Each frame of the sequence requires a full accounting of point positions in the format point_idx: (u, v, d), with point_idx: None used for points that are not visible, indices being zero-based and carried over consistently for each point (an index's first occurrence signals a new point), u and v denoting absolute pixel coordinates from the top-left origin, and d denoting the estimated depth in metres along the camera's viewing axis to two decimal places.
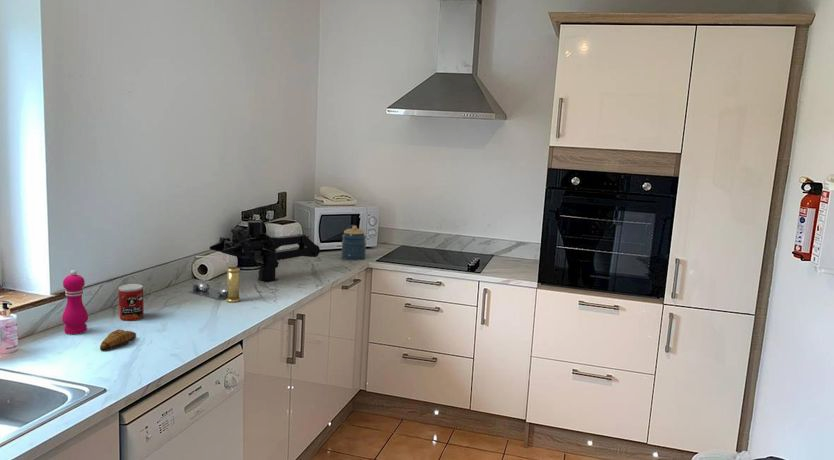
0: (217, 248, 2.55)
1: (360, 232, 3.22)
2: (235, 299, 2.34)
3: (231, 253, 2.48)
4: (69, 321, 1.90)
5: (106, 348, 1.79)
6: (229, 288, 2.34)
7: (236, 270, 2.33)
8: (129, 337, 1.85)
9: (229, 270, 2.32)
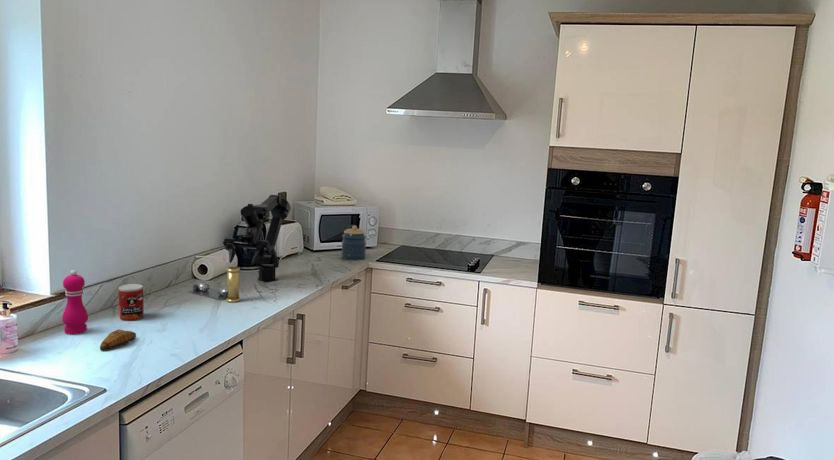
0: (233, 255, 2.45)
1: (360, 232, 3.22)
2: (235, 299, 2.34)
3: (258, 258, 2.44)
4: (69, 321, 1.90)
5: (106, 348, 1.79)
6: (229, 288, 2.34)
7: (236, 270, 2.33)
8: (129, 337, 1.85)
9: (229, 270, 2.32)
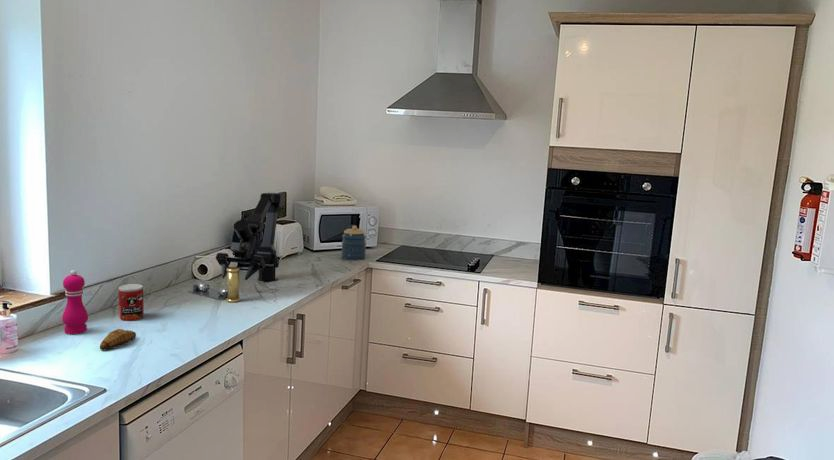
0: (226, 271, 2.39)
1: (360, 232, 3.22)
2: (235, 299, 2.34)
3: (251, 273, 2.38)
4: (69, 321, 1.90)
5: (106, 347, 1.79)
6: (229, 288, 2.34)
7: (236, 270, 2.33)
8: (129, 336, 1.85)
9: (229, 270, 2.32)
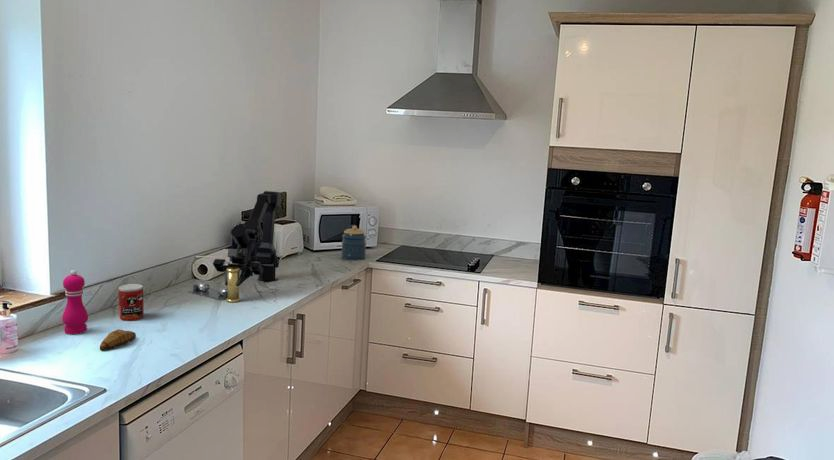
0: None
1: (360, 232, 3.22)
2: (235, 299, 2.34)
3: (244, 279, 2.36)
4: (69, 321, 1.90)
5: (106, 348, 1.79)
6: (229, 288, 2.34)
7: (236, 270, 2.33)
8: (129, 337, 1.85)
9: (229, 270, 2.32)
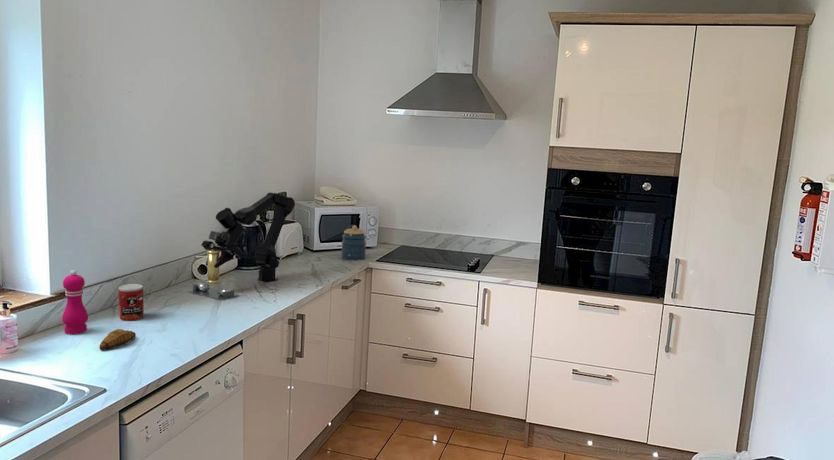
0: None
1: (360, 232, 3.22)
2: (213, 280, 2.42)
3: (223, 262, 2.43)
4: (69, 321, 1.90)
5: (105, 348, 1.79)
6: (208, 269, 2.42)
7: (213, 252, 2.40)
8: (128, 337, 1.85)
9: (207, 251, 2.40)
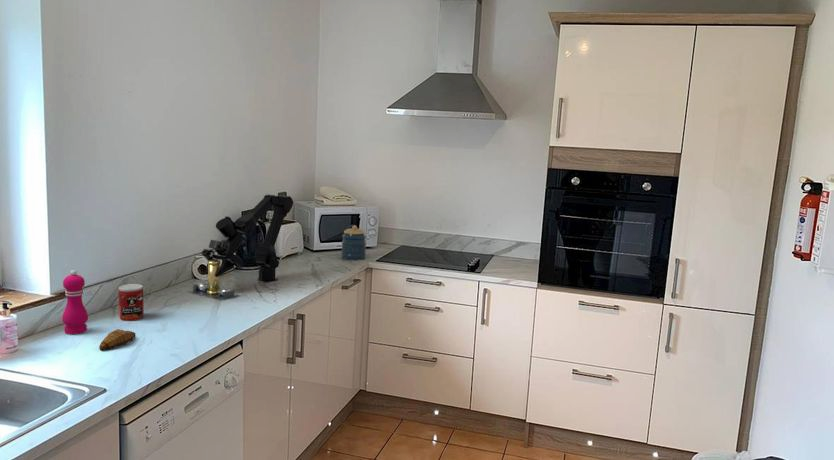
0: None
1: (360, 232, 3.22)
2: (213, 291, 2.42)
3: (224, 271, 2.43)
4: (69, 321, 1.90)
5: (105, 348, 1.79)
6: (208, 280, 2.43)
7: (214, 263, 2.41)
8: (128, 337, 1.85)
9: (208, 262, 2.41)
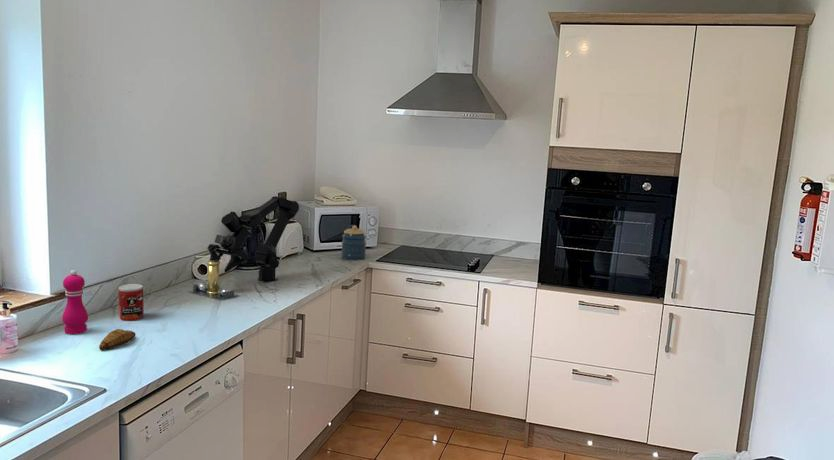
0: None
1: (360, 232, 3.22)
2: (213, 291, 2.42)
3: (233, 266, 2.44)
4: (69, 321, 1.90)
5: (105, 348, 1.79)
6: (208, 280, 2.42)
7: (213, 263, 2.40)
8: (128, 337, 1.85)
9: (207, 263, 2.41)
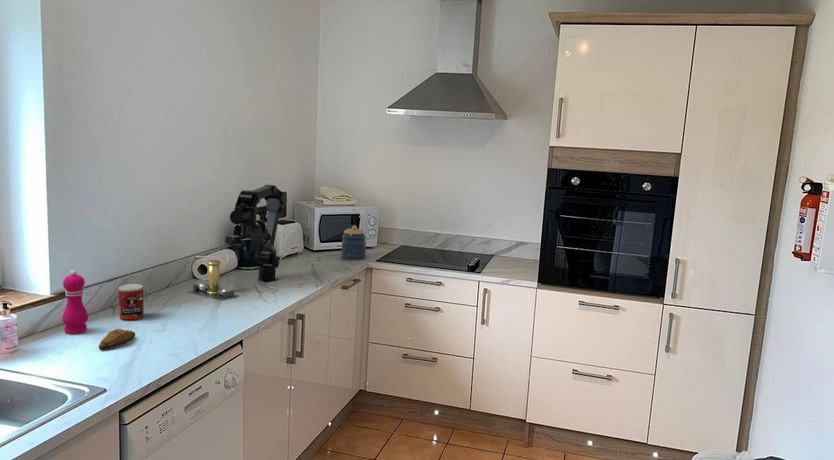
0: None
1: (360, 232, 3.22)
2: (213, 291, 2.42)
3: None
4: (69, 321, 1.90)
5: (105, 347, 1.80)
6: (208, 280, 2.42)
7: (214, 263, 2.40)
8: (128, 336, 1.85)
9: (208, 263, 2.41)
